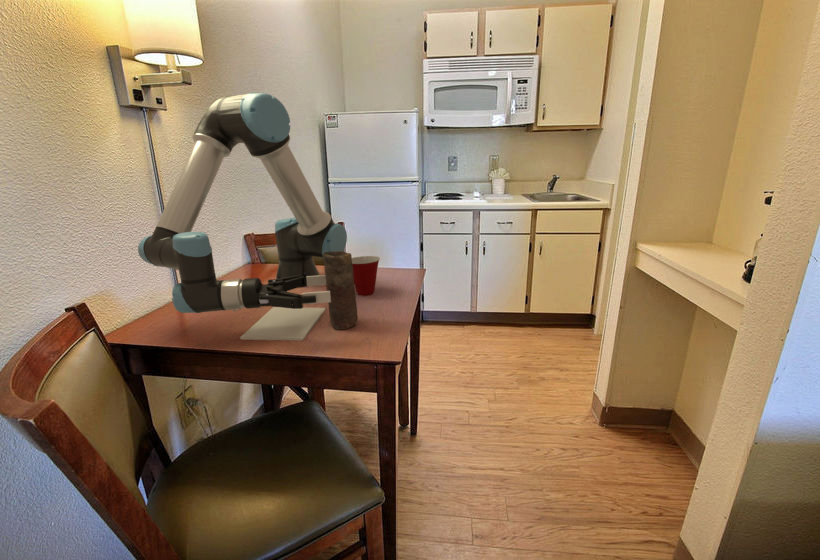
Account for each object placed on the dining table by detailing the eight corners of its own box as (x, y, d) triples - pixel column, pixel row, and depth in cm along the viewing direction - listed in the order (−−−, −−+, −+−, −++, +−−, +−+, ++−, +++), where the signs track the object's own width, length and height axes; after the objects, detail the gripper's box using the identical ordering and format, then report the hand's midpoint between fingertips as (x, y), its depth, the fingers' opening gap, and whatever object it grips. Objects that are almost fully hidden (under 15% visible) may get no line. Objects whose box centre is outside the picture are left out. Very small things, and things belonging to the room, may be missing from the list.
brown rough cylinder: (329, 320, 106) (321, 250, 100) (355, 316, 108) (349, 247, 102) (332, 332, 99) (324, 257, 93) (360, 327, 101) (354, 254, 95)
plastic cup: (371, 285, 135) (370, 252, 131) (387, 294, 126) (386, 258, 122) (343, 291, 129) (340, 257, 125) (357, 301, 120) (355, 264, 117)
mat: (273, 309, 115) (273, 307, 115) (325, 309, 114) (325, 307, 114) (240, 339, 96) (240, 337, 96) (303, 340, 95) (302, 338, 95)
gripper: (256, 291, 109) (332, 286, 112) (233, 328, 85) (331, 320, 89) (252, 265, 106) (330, 261, 110) (228, 296, 83) (328, 289, 87)
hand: (330, 287), depth 99 cm, fingers open, 13 cm apart
